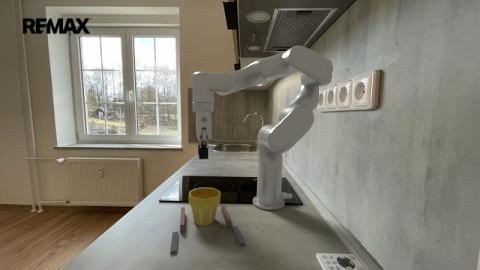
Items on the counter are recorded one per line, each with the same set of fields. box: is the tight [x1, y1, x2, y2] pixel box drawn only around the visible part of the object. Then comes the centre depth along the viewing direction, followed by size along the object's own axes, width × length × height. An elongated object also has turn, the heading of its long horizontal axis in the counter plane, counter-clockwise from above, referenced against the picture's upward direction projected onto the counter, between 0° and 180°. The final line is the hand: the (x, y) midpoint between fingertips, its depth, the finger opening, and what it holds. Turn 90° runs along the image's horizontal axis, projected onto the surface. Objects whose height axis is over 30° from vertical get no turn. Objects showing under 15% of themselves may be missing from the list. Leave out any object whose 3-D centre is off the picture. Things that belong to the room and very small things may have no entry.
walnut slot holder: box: [179, 203, 232, 234], centre depth 73 cm, size 15×12×2 cm
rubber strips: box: [169, 225, 246, 255], centre depth 62 cm, size 20×9×1 cm, turn 103°
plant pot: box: [188, 187, 222, 227], centre depth 72 cm, size 10×10×10 cm
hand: (202, 156), depth 80 cm, fingers open, 6 cm apart
